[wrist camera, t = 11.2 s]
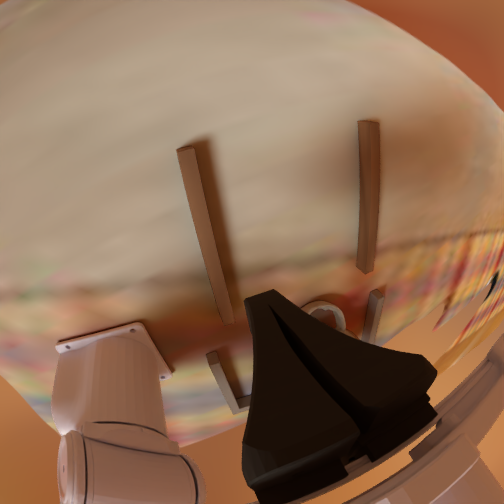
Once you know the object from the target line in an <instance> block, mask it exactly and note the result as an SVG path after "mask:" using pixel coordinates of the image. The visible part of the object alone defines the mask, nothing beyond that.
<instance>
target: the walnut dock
mask: <svg viewBox="0 0 504 504" xmlns="http://www.w3.org/2000/svg"><path fill="white" fill-rule="evenodd" d="M358 134H359V158H360V212H359V236H358V253H357V266H356V267H358V268H359V269H360V270H361V271H362V272H363V273H364V274H367V273H369V272H372V271H373V267H374V259H375V249H376V239H377V228H378V213H379V193H380V134H379V123H378V122H371V121H358ZM176 151H177V156H178V160H179V164H180V169H181V173H182V177H183V182H184V186H185V190H186V194H187V198H188V202H189V206H190V210H191V214H192V218H193V222H194V225H195V229H196V233H197V237H198V240H199V244H200V248H201V251H202V255H203V259H204V262H205V266H206V269H207V273H208V276H209V280H210V283H211V286H212V290H213V293H214V296H215V300H216V303H217V306H218V310H219V313H220V316H221V319H222V321H223V324H224V326H226V325H229V324H232V323H236V322H235V318H234V314H233V310H232V307H231V303H230V299H229V295H228V291H227V287H226V284H225V280H224V276H223V272H222V268H221V264H220V260H219V256H218V252H217V248H216V243H215V239H214V235H213V231H212V227H211V222H210V218H209V214H208V209H207V205H206V201H205V196H204V192H203V187H202V183H201V178H200V174H199V169H198V164H197V159H196V155H195V150H194V148H193V147H192V146H189V147H185V148H181V149H177V150H176Z"/></svg>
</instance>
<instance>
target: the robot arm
mask: <svg viewBox="0 0 504 504" xmlns="http://www.w3.org/2000/svg"><path fill="white" fill-rule="evenodd" d="M244 305H245V309H246V314H247V318H248V322H249V327H250V331H251V333H252V336H253V360H254V361H253V382H252V393H251V401H250V407H249V413H248V419H247V424H246V429H245V432H244V437H243V441H242V445H243V446H242V471H243V475H244V478H245V480H246V482H247V485H248V486H249V487H250V488H251V489H253V490H254V491H255V494H256V496H257V499H258V501H255V502H252V503H248V504H301V503H304V502H306V501H309V500H311V499H314V498H316V497H318V496H320V495H323V494H325V493H327V492H330V491H332V490H334V489H336V488H338V487H340V486H342V485H344V484H346V483H348V482H350V481H352V480H354V479H355V478H357V477H359V476H361V475H363V474H364V473H366V472H368V471H370V470H371V469H373V468H375V467H376V466H378V465H380V464H381V463H383V462H384V461H386V460H388V459H389V458H391V457H392V456H394V455H395V454H397V453H398V452H399V451H401V450H402V449H404V448H405V447H407V446H408V445H409V444H411V443H412V442H414V441H415V440H416V439H417V438H419V437H420V436H421V435H423V434H424V433H425V432H426V431H428V430H429V429H430V428H431V427H432V426H434V425H435V424H436V423H437V424H436V429H435V430H434V431H433V432H431V434H429V435H428V436H427V437H425V438H424V440H422V441H421V442H420V443H419V444H418V445H417V446H416V447H414V448H413V449H412V450H411V451H409V455H410V456H411V458H412V459H413V461H412V462H411V463H409V464H408V465H406V466H405V467H404V468H402V469H401V470H399V471H398V472H396V473H395V474H393V475H392V476H390V477H389V478H387V479H385V480H384V481H382V482H381V483H379V484H377V485H376V486H374V487H372V488H370V489H369V490H367V491H365V492H363V493H362V494H360V495H358V496H356V497H354V498H353V499H350V500H348V501H346V502H344V503H342V504H504V490H503V488H502V487H501V485H500V484H499V483H498V481H497V480H496V478H495V477H494V476H493V474H492V473H491V472H490V470H489V469H488V467H487V466H486V465H485V463H484V462H483V461H482V459H481V458H480V451H479V450H478V449H477V445H478V444H479V443H480V442H481V440H482V439H483V438H484V436H485V435H486V434H487V432H488V431H489V430H490V428H491V427H492V425H493V424H494V423H495V421H496V420H497V418H498V417H499V415H500V414H501V412H502V411H503V409H504V333H503V334H502V335H501V337H500V338H499V339H498V340H497V341H496V343H495V344H494V346H492V348H491V349H490V351H489V352H488V354H487V356H486V358H485V359H484V360H483V361H482V362H481V363H480V364H479V365H478V366H477V367H476V369H474V370H473V372H472V373H471V374H470V375H469V376H468V377H467V378H466V379H465V380H464V381H463V382H462V383H461V384H459V385H458V386H457V388H455V389H454V390H453V391H452V392H451V393H450V394H449V395H448V396H447V397H446V398H444V399H443V400H442V401H441V402H440V403H439V404H438V405H436V406H435V407H434V408H433V407H432V406H431V405H430V403H429V401H430V397H429V396H428V395H427V393H426V392H427V390H428V389H429V388H430V386H431V385H432V383H433V382H434V380H435V378H436V376H437V370H436V369H435V368H434V367H433V366H432V365H431V363H430V362H429V361H428V360H427V359H426V358H425V357H423V356H422V355H419V354H412V353H406V352H400V351H395V350H391V349H387V348H383V347H379V346H376V345H373V344H370V343H367V342H364V341H361V340H358V339H356V338H353V337H351V336H348V335H346V334H344V333H342V332H340V331H338V330H336V329H334V328H332V327H330V326H328V325H326V324H324V323H323V322H321V321H319V320H317V319H316V318H314V317H313V316H311V315H309V314H308V313H306V312H305V311H303V310H302V309H300V308H299V307H297V306H296V305H295V304H293V303H292V302H290V301H289V300H288V299H286V298H285V297H284V296H282V295H281V294H280V293H279V292H277V291H276V290H274V289H273V290H270V291H267V292H264V293H261V294H258V295H255V296H252V297H248V298H246V299H245V300H244ZM131 329H135V330H131ZM67 345H68V346H67ZM55 348H56V350H57V351H58V352H59V354H60V356H59V360H58V365H57V370H56V375H55V380H54V386H53V392H52V399H51V410H52V416H53V419H54V423H55V425H56V427H57V429H58V431H59V433H60V434H61V435H62V438H61V442H60V446H59V453H58V467H57V468H58V469H57V470H58V471H57V474H58V487H59V493H60V504H205V502H206V494H207V492H206V485H205V481H204V478H203V475H202V473H201V471H200V469H199V467H198V466H197V464H196V463H195V462H194V461H193V460H192V459H191V458H190V457H189V456H187V455H185V454H182V453H180V450H179V445H178V442H175V441H171V440H169V437H168V432H167V426H166V421H165V414H164V408H163V401H162V394H161V387H160V381H162V380H166V379H170V378H171V377H172V372H171V371H170V369H169V367H168V366H167V364H166V363H165V361H164V359H163V358H162V356H161V355H160V353H159V351H158V350H157V348H156V346H155V344H154V343H153V341H152V339H151V338H150V336H149V334H148V332H147V331H146V329H145V327H144V325H143V324H142V323H139V322H136V323H132V324H129V325H125V326H121V327H118V328H114V329H110V330H106V331H103V332H99V333H95V334H91V335H87V336H83V337H79V338H75V339H71V340H67V341H63V342H59V343H57V344H56V346H55Z"/></svg>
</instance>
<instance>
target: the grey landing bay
mask: <svg viewBox="0 0 504 504" xmlns="http://www.w3.org/2000/svg"><path fill="white" fill-rule="evenodd" d="M384 297H385V296H384V295H383V294H382V293H381V292H379V291H378V290H377V289H376V290H374V291H372V292H370V297H369V303H368V309H367V315H366V320H365V325H364V330H363V335H362V340H361V341H364V342H367V343H370V344H373V343H374V340H375V336H376V332H377V328H378V324H379V320H380V316H381V311H382V307H383V302H384ZM206 356H207V360H208V363H209V366H210V368H211V371H212V373H213V375H214V377H215V379H216V381H217V383H218V385H219V387H220V389H221V391H222V393H223V395H224V397H225V399H226V401H227V403H228V405H229V407H230V409H231V411H232V413H233V415H234V414H237V413H240V412H243V411H246V410H249V407H250V401H251V395H249V396H246V397H243V398H240V399H237V400H236V398H235V396H234V394H233V392H232V389H231V387H230V385H229V382H228V380H227V378H226V375H225V373H224V370H223V368H222V366H221V363H220V361H219V358H218V356H217V353H216V351H215V352H212V353H209V354H206Z"/></svg>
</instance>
